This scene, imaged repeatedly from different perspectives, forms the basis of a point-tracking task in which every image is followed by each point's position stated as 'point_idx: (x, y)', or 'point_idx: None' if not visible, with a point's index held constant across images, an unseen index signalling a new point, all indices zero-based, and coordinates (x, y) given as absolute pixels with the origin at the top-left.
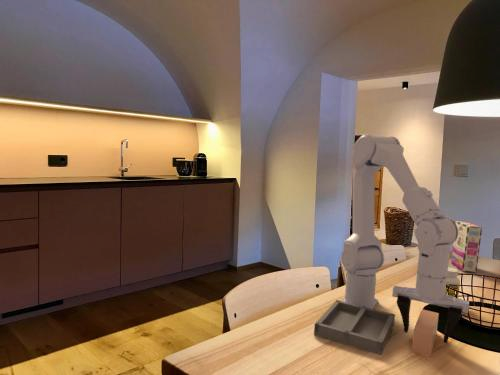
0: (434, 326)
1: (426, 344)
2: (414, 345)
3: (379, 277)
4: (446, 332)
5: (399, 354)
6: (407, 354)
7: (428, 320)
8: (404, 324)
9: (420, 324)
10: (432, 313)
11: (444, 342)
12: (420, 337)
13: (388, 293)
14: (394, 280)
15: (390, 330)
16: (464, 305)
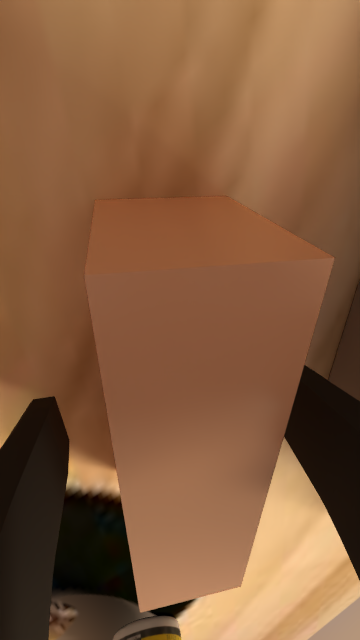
0: (121, 466)
1: (140, 223)
2: (229, 210)
3: (329, 610)
4: (16, 466)
5: (311, 72)
6: (252, 121)
7: (188, 514)
8: (335, 389)
9: (251, 416)
10: (175, 591)
11: (46, 398)
12: (215, 236)
13: (313, 573)
14: (291, 622)
15: (354, 348)
16: None
